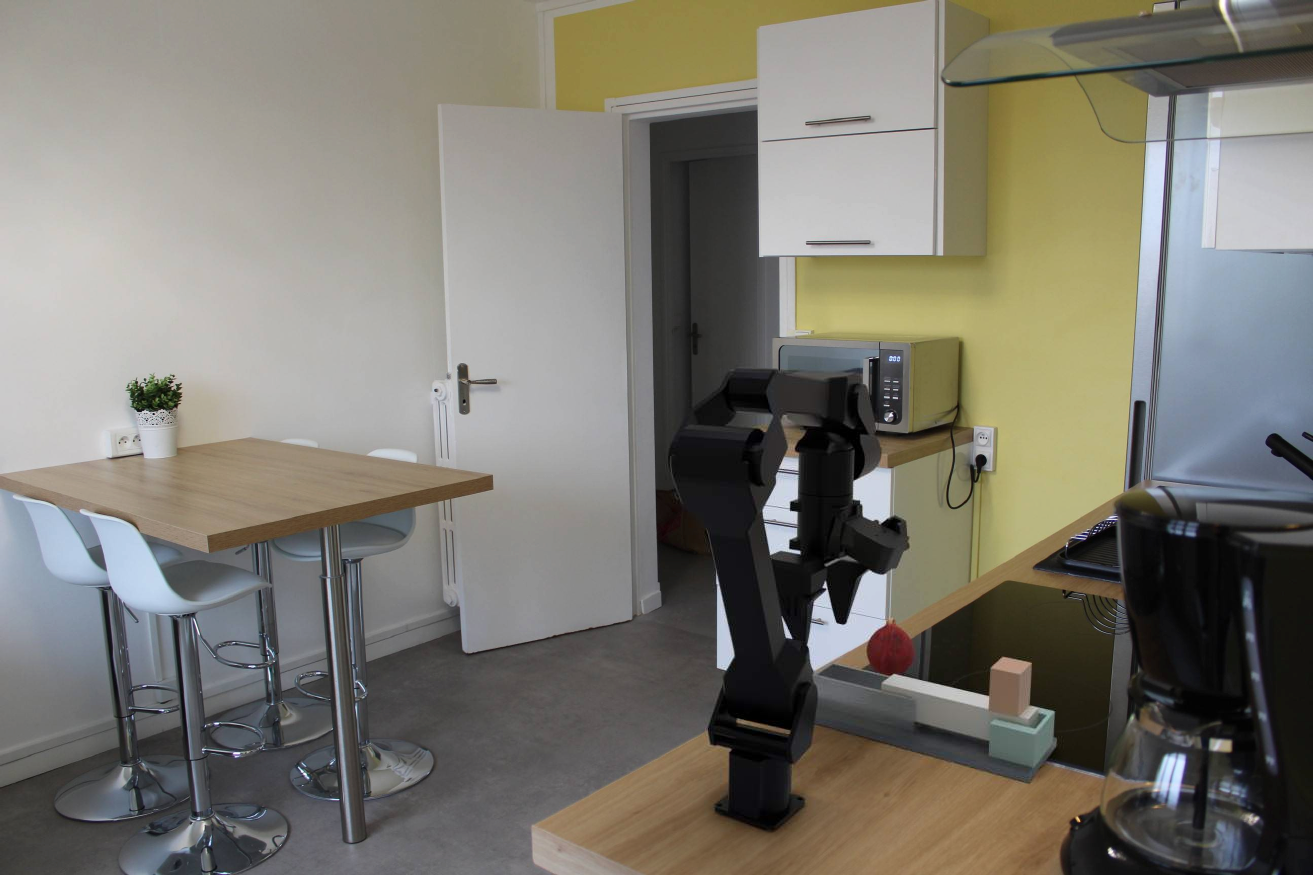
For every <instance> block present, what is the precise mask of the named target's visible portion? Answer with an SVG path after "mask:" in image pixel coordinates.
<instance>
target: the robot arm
mask: <svg viewBox="0 0 1313 875" xmlns="http://www.w3.org/2000/svg"><path fill="white" fill-rule="evenodd" d="M871 403H872V402H871V399H870V394H869V390H868V386H867V385H866V384H864V383H863V378H862V376H861V375H860V374H859V373H858V372H847V371H845V372H844V371H825V370H824V371H823V370H822V371H820V370H819V371H817V370H800V371H796V372H793V373H788V372H785V371H780V370H779V369H778V368H772V367H771V368H770V367H769V368H768V367H750V366H749V367H748V366H747V367H745V366H744V367H742V366H738V367H736V368H735V369H730V370H728V371H727V373H726V374H725V376H724V378H723V379H722V382H721V383H720V385H719V387H718V388H717V389H716V390H714V391H713V392H712V393H710V394H708V396H706V397H705V398H703V399H702V400H701V401H700V402H698V403H696V404H695V405H694V406H693V407H691V408H690V409H689V410H688V411H687V413H686V414H685V416H684V418H683V420H682V422H681V424H680V426H679V428H678V429H677V431H676V434H675V435H674V437H673V438H672V441H671V443H670V446H669V449H668V455H667V465H668V469H669V472H670V475H671V477H672V480H673V483H674V484H673V485H674V486H675V489H676V492H677V494H678V497H679V499H680V503H681V504H682V506H683V507H684V508H685V509H686V510H687V511H688V512H689V513H690V514H691V516H693V517H694V519H696V520H697V521H698V522H699V523H700V524H701V526H703V527H704V528H705V529H706V532H707V536H708V541H709V545H710V549H711V554H712V559H713V563H714V568H715V572H716V576H717V581H718V586H719V590H720V595H721V599H722V600H721V601H722V604H723V609H724V613H725V618H726V621H727V627H728V631H729V636H730V639H731V640H730V641H731V645H732V650H733V658H732V659H731V662H729V665H728V667H727V668H726V670H725V672H724V674H723V675H722V684H721V688H720V691H719V694H718V697H717V699H716V702H715V706H714V708H713V711H712V714H711V716H710V720H709V723H708V726H707V734H708V739H709V743H710V746H714V747H716V746H718V747H722V748H726V749H729V750H730V751H728V791H727V792H728V793H727V794H726V795H724V796H723V797H722V798H720V799H719V800H718V801H717V802H715V803H714V807H713V809H714V811H715V812H717V813H719V814H720V813H721V814H722V815H726V816H729V817H731V818H734V819H737V820H740V821H742V822H745V823H748V824H751V825H754V826H756V827H760V828H762V829H765V830H767V831H774V830H776V829H777V828H779V827H780V826H782V824H783V823H785V822H786V821H787V820H788V819H790V817H791V816H793V815H794V814H795V813H797V811H799V809H801V808H802V807H804V806H805V805H806V798H805V797H804V796H801V795H798V794H794V793H792V776H793V775H792V774H793V773H792V772H793V771H792V770H793V769H792V767H793V766H794V765H796V763H797V762H798V761H799V760H800V759H801V758H802V757H803V755H805V753H806V752H807V751H808V750H809V749H810V748H811V747H812V743H813V735H814V730H815V716H816V709H817V701H818V690H817V686H816V685H815V684H814V681H813V677H812V675H813V674H814V673H815V671H814V668H813V667H812V663H811V656H810V654H811V653H810V647H809V646H808V645H809V644H808V642H809V639H810V635H811V634H810V632H811V628H812V626H811V625H812V618H813V610H814V605H815V604H814V603H815V601H816V600H818V598H820V597H821V595H823V594H824V593H825V592H826V591H827V592H828V597H829V602H830V605H831V610H832V613H833V617H834V620H835V623H836V624H837V625H843V626H844V625H846V624H847V623H848V620H849V616H850V614H851V611H852V608H853V605H854V601H855V598H856V596H857V592H858V589H859V586H860V583H861V581H862V579H863V576H864V575H866V574H867V573H868V572H869V571H870V572H872V573H874V574H876V575H881V576H884V575H887V573H888V572H889V571H892V570H896V569H897V568H898V566H899V563H900V561H901V558H902V557H903V554H904V552H906V551H907V550H909V549H910V543H909V540H910V538H911V537H910V536H908V525H907V520H905V519H903V518H901V517H900V516H898V515H896V514H895V515H892V516H889V517H888V518H887V517H886V519H885V520H884V521H882V522H880V520H878V519H874V520H871V519H870V518H867V517H864V515H863V513H864V512H863V509H864V506H863V504H862V503H861V500H859V499H854V482H855V481H857V480H860V479H861V478H862V477H865V476H867V475H868V474H870V473H871V472H873V471H874V470H875V469H876V468H878V466H879V464H880V462H881V459H882V453H883V452H882V451H883V449H882V447H881V443H880V441H879V439H878V437H877V436H876V435H875V434H876V433H877V432H876V431H877V426H876V421H875V415H874V412H873V407H872V404H871ZM737 414H751V415H766V416H767V415H768V416H769V415H770V416H772V419H771V421H770V424H768V427H767V429H766V431H764V430H762V429H760V428H758V427H748V426H747V427H746V426H744V427H743V426H733V425H732V426H731V425H728V424H729V423H730V422H732V421H733V420H734V419H735V417H736V415H737ZM784 414H786V419H787V420H788V421H791V422H792V423H794V424H795V425H797V426H798V427H799V429H800V431H804V434H803V435H802V437H801V438H800V439H799V440H797V441H796V444H795V446H794V451H795V453H797V454H798V464H797V465H798V469H797V472H798V473H797V499H794V500H790V501H789V512H795V513H797V514H796V515H797V516H796V518H797V519H796V520H797V521H796V524H797V525H796V536H795V537H793V538H790V539H789V541H788V550H793V551H798V552H799V553H795V552H790V551H785V550H778V551H775V553H770V552H771V551H770V547H769V540H768V536H767V530H766V525H765V520H764V512H763V510H764V508H765V506H766V504H767V502H768V500H769V499H770V497H771V495H772V494H773V493H772V492H773V491H774V489H775V487H776V485H777V474H778V471H779V470H780V467H781V464H782V463H783V461H784V457H785V456H786V453H787V451H788V448H789V444H788V443H789V442H788V441H787V437H786V433H785V430H784V427H783V423H782V419H783V418H784V417H783V416H784ZM825 584H826V587H824V586H825ZM783 621H784V622H783ZM784 623H785V626H786V628H787V630H788V632H789V635H790V636H791V638H789V637H786V632H785V628H784V627H785V626H784ZM738 720H741V721H745V722H751V723H755V724H759V725H764V726H769V727H773V728H777V729H782V730H786V731H789V733H785V732H781V731H776V730H772V729H767V728H763V727H759V726H755V725H750V724H745V723H742V722H738Z"/></svg>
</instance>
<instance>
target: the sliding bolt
mask: <svg viewBox="0 0 1313 875" xmlns="http://www.w3.org/2000/svg"><path fill="white" fill-rule="evenodd" d="M1032 665H1033V664H1032V662H1030V661H1024V660H1019V659H1016V658H1010V657H1005V656H1002V657H1001V658H1000V659H999V660H998V661H997V662H995V663H994V664H993V665H992V666H991V667H990V673H989V674H990V676H989V693H988V695H984V694H981V693H977V692H972V691H968V690H964V689H959V688H956V687H955V688H954V687H952V686H951V687H950V686H948V685H942V684H938V683H934V682H930V681H924V680H920V679H918V678H914V677H913V678H912V677H909V676H904V675H896V674H893V675H892V676H890V677H889V678H888V679H886V680H885V681H884V682H882V683H881V691H884V692H888V693H892V694H896V695H900V696H905V697H909V698H913V699H916V716H915V721H916V722H919V723H923V724H927V725H931V726H935V727H939V728H943V729H946V730H950V731H954V732H958V733H962V734H966V735H969V736H973V737H977V738H981V739H985V740H989V739H990V723H991V722H992V721H993V720H994V719H998V720H1002V721H1006V722H1010V723H1014V724H1018V725H1022V726H1026V727H1030V728H1034V729H1036V728H1037V724H1038V708H1039V707H1038V706H1034V707H1032V706H1033V705H1030V701H1031V686H1032V684H1031V683H1032V682H1031V681H1032V669H1033V668H1032ZM1029 705H1030V706H1029ZM1037 707H1038V708H1037Z"/></svg>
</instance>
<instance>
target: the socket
mask: <svg viewBox="0 0 1313 875" xmlns="http://www.w3.org/2000/svg"><path fill="white" fill-rule="evenodd" d="M1029 706H1032V707H1035V706H1033V705H1030V704H1029ZM1036 707H1037V708H1038V724H1037V728H1036V729H1034V728H1030V727H1026V726H1022V725H1018V724H1014V723H1010V722H1006V721H1002V720H998V719H994V720H993V721H992V722H991V723H990V739H989V756H992V757H995V758H999V759H1003V760H1006V761H1010V762H1014V763H1018V764H1021V765H1025V766H1029V767H1032V768H1034V767H1035V765H1036V764H1037V763H1038V761H1039V760H1040V759H1041V758H1042V756H1043V755H1044V754H1045V752H1046V751H1047V750H1048V749H1049V747H1050V746H1051V745H1052V743H1053V737H1054V732H1055V731H1054V730H1055V714H1056V712H1055V711H1054V710H1052V709H1045V708H1042V707H1038V706H1036Z"/></svg>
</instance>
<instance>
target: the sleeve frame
mask: <svg viewBox="0 0 1313 875" xmlns="http://www.w3.org/2000/svg"><path fill="white" fill-rule="evenodd" d="M812 677H813V681H814V684H815V685H816V686H817V690H818V701H817V709H816V716H815V723H814V725H815V724H816V725H819V726H823V727H827V728H830V729H834V730H837V731H841V732H844V733H848V734H851V735H855V736H859V737H863V738H865V739H870V740H873V741H877V742H880V743H884V744H887V745H891V746H895V747H898V748H902V749H905V750H907V751H913V752H916V753H919V754H924V755H927V756H929V757H934V758H937V759H940V760H945V761H948V762H951V763H952V762H953V763H955V764H958V765H962V766H966V767H969V768H974V769H977V770H981V771H984V772H988V773H990V774H991V773H992V774H995V775H999V776H1003V777H1005V778H1010V779H1013V780H1017V781H1020V782H1024V783H1028V784H1029V783H1030V782H1031V780H1032V779H1033V778H1034V776H1035V775H1036V774H1037V773H1038V772H1039V770H1040V769H1041V767H1042V766H1043V765H1044V763H1045V762H1046V761H1047V759H1049V757H1051V754H1052V753H1053V752H1054V751H1055V749H1056V748H1057V740H1058V739H1057V737H1055V736H1053V743H1052V745H1051V746H1050V747H1049V749H1048V750H1047V751H1046V752H1045V754H1044V755H1043V756H1042V758H1041V759H1040V760H1039V761H1038V763H1037V764H1036V765H1035V767H1034V768H1032V767H1029V766H1025V765H1021V764H1018V763H1014V762H1010V761H1006V760H1003V759H999V758H995V757H992V756H989V740H985V739H981V738H977V737H973V736H969V735H966V734H962V733H958V732H954V731H950V730H946V729H943V728H939V727H935V726H931V725H927V724H923V723H919V722H916V721H915V716H916V699H913V698H909V697H905V696H900V695H896V694H892V693H888V692H884V691H881V683H882V682H884V681H885V680H886V679H888V678H889V677H890V676H887V675H883V674H879V673H877V672H875V671H874V672H873V671H870V670H865V669H862V668H858V667H857V668H856V667H853V666H850V665H849V666H848V665H845V664H841V663H836V662H829V664H827V665H825V666H823V667H822V668H821V669H819V670H818V671H816V672H814V674H813V675H812Z"/></svg>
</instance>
